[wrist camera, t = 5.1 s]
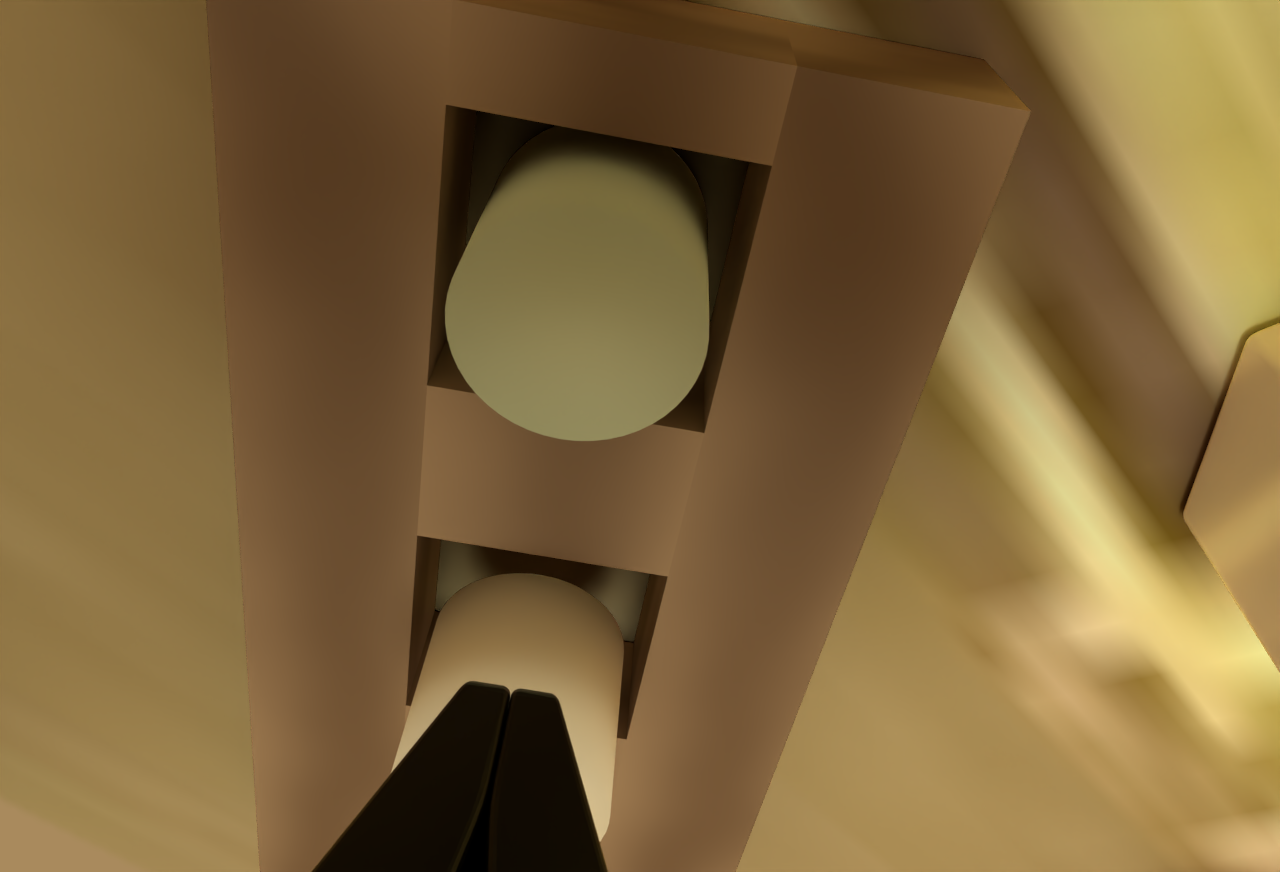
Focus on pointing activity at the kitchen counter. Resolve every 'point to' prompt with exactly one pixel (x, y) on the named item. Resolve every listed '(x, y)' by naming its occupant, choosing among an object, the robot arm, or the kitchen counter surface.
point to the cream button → (531, 665)
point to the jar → (1245, 490)
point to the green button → (584, 287)
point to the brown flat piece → (556, 468)
